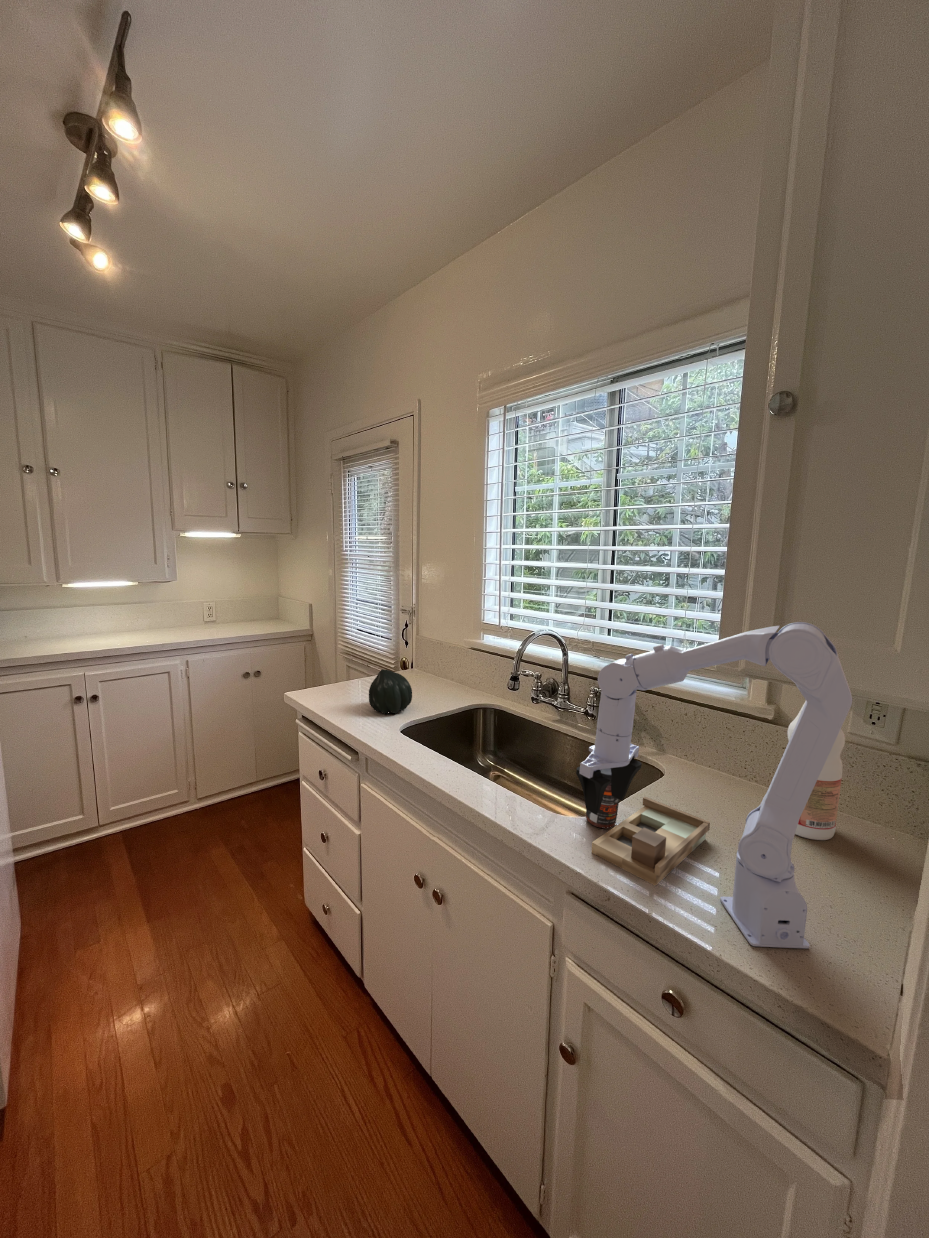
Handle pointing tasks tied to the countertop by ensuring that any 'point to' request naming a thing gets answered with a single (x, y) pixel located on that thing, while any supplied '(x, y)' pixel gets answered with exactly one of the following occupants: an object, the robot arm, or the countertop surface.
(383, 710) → the squash
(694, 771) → the countertop surface
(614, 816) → the supplement bottle
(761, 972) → the countertop surface
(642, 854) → the walnut block
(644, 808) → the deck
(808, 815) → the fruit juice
